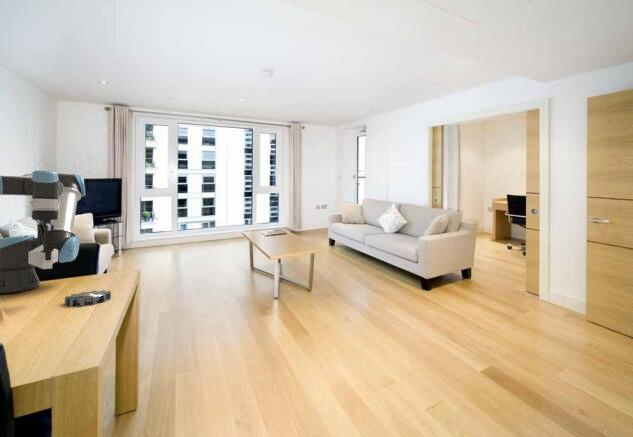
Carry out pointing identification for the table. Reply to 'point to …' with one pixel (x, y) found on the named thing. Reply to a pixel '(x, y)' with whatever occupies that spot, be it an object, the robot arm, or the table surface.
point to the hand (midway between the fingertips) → (45, 267)
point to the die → (40, 256)
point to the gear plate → (87, 298)
